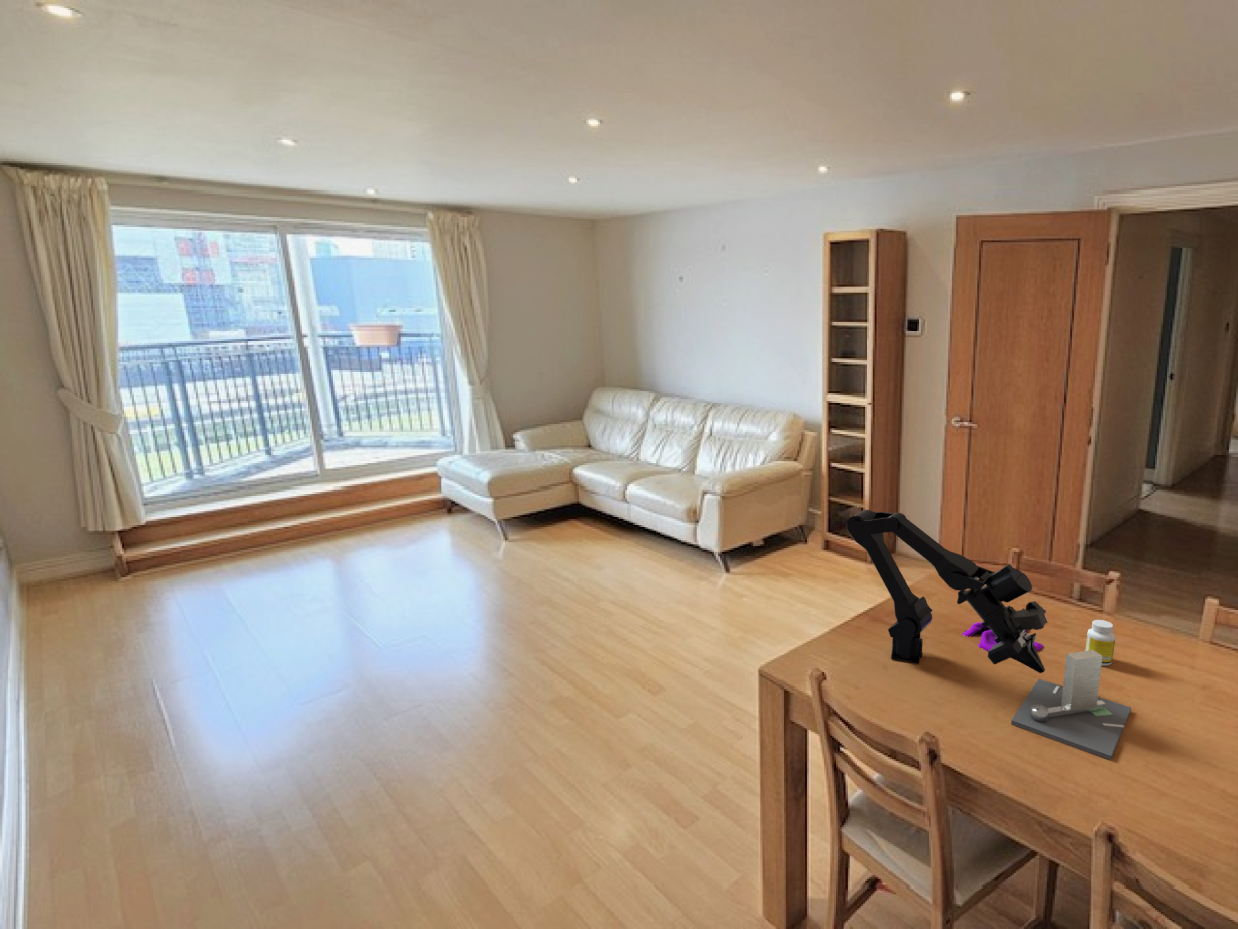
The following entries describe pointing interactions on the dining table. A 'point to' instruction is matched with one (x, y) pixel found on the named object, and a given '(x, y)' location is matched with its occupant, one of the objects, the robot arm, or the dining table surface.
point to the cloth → (988, 636)
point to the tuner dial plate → (1074, 721)
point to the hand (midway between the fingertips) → (1042, 671)
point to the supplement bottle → (1101, 640)
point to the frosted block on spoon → (1076, 687)
